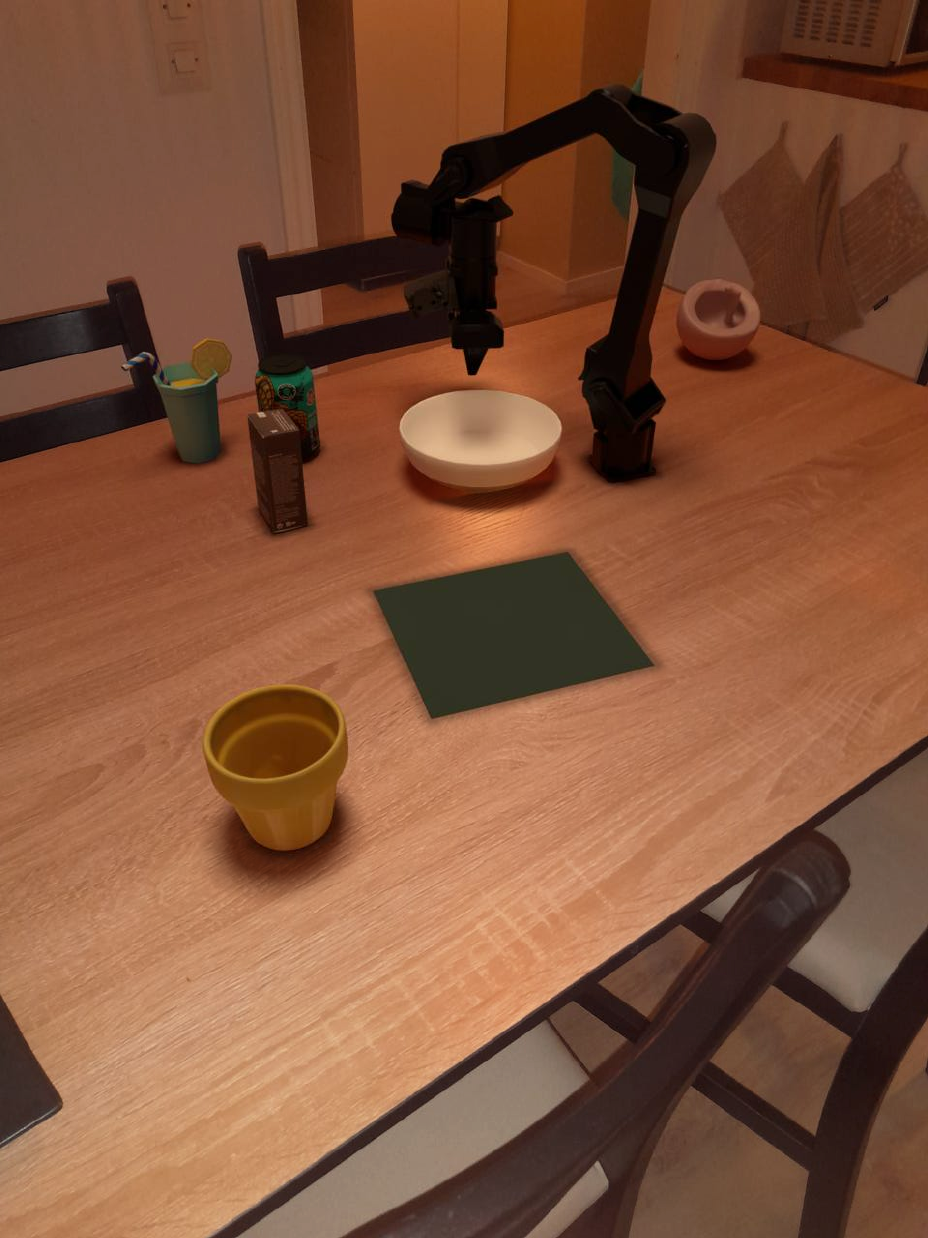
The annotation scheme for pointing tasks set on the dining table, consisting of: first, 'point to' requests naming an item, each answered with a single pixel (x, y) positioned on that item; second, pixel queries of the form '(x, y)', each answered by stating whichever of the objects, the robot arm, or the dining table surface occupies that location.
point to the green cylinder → (290, 395)
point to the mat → (506, 633)
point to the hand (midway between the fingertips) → (471, 374)
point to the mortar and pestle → (717, 319)
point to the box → (278, 469)
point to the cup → (192, 398)
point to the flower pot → (278, 761)
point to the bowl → (480, 439)
